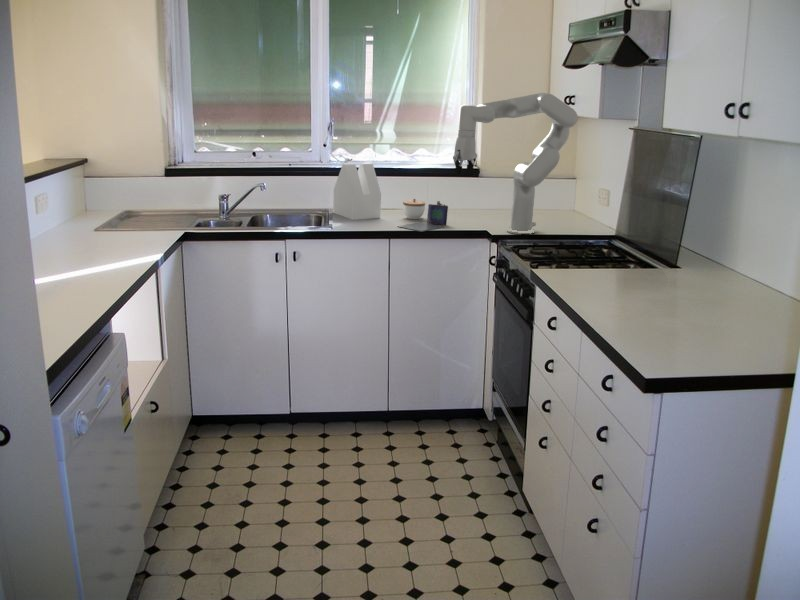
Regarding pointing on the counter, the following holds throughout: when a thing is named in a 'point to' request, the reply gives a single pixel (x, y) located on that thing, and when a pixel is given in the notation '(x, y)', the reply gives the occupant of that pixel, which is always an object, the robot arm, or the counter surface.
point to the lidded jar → (413, 209)
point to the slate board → (420, 226)
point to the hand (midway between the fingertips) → (464, 174)
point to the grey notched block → (357, 192)
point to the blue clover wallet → (437, 213)
